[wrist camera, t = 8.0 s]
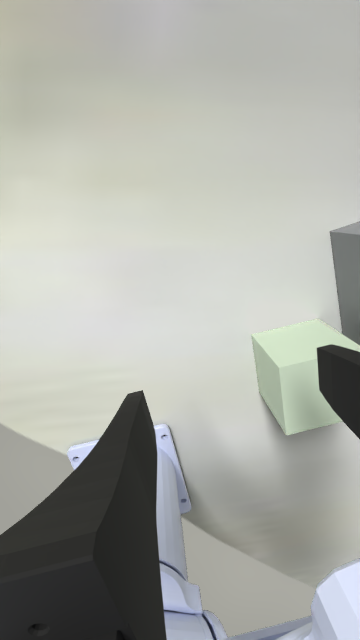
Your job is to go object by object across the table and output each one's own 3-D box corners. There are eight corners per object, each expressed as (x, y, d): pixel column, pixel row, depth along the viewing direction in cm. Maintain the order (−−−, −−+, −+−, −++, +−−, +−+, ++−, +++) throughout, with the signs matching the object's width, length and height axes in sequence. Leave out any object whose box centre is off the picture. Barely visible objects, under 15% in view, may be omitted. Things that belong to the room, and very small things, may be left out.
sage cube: (320, 376, 24) (362, 416, 19) (258, 391, 24) (286, 435, 19) (317, 318, 22) (362, 347, 18) (251, 334, 22) (278, 367, 17)
